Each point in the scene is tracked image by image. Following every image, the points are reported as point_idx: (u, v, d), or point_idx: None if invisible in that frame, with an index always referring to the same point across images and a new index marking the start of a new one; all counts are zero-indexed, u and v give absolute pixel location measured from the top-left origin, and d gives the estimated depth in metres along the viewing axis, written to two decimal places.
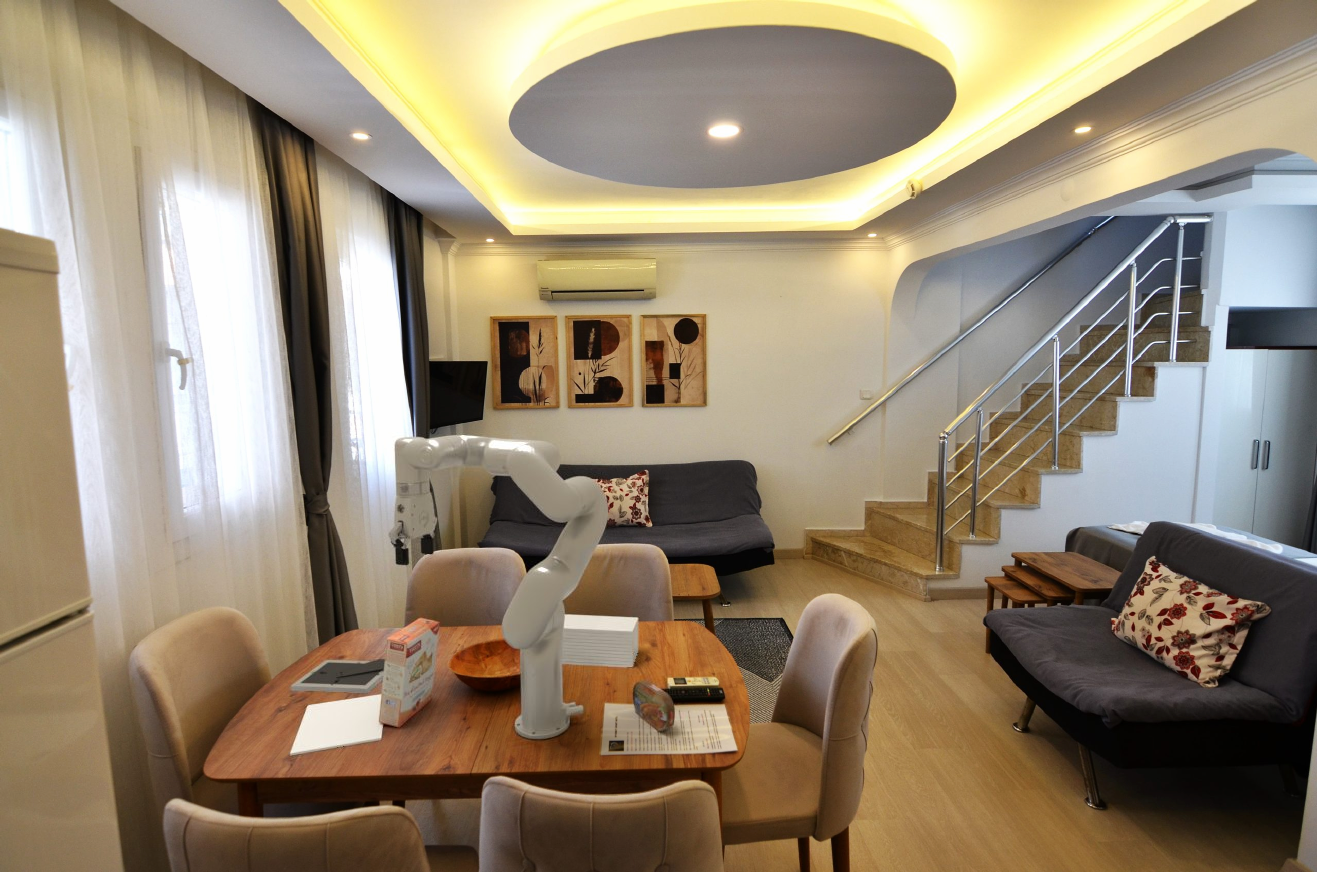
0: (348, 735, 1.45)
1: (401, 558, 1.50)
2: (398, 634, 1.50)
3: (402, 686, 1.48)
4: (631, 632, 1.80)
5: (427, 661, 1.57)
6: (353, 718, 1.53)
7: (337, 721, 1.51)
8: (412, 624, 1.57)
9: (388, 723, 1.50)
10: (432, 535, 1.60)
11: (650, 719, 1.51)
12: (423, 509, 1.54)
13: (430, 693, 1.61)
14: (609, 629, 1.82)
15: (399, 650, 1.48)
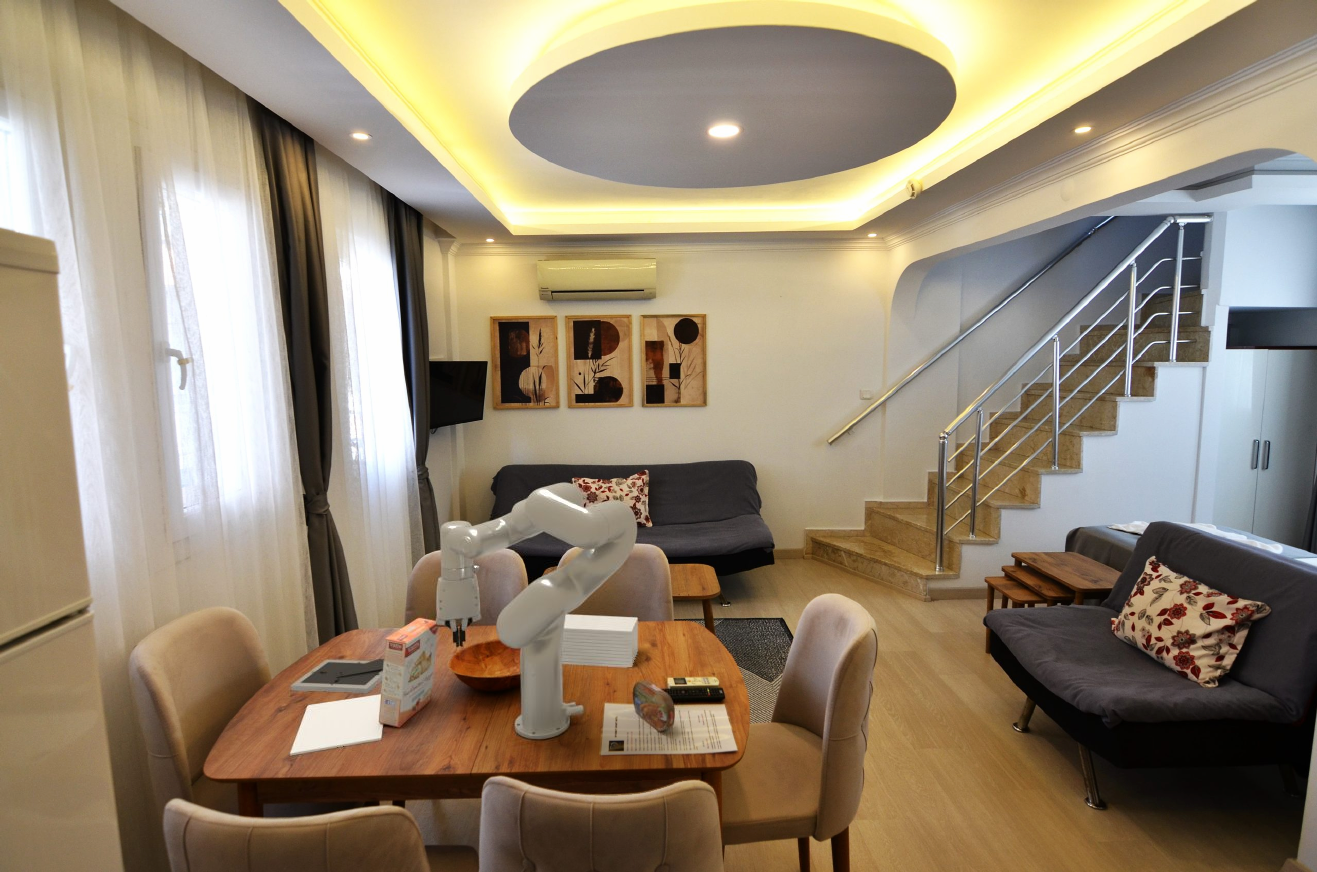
0: (348, 735, 1.45)
1: None
2: (397, 634, 1.51)
3: (401, 686, 1.48)
4: (630, 632, 1.80)
5: (426, 661, 1.57)
6: (353, 718, 1.53)
7: (337, 721, 1.51)
8: (411, 624, 1.57)
9: (388, 723, 1.50)
10: None
11: (650, 719, 1.51)
12: None
13: (430, 693, 1.61)
14: (608, 629, 1.82)
15: (398, 650, 1.48)
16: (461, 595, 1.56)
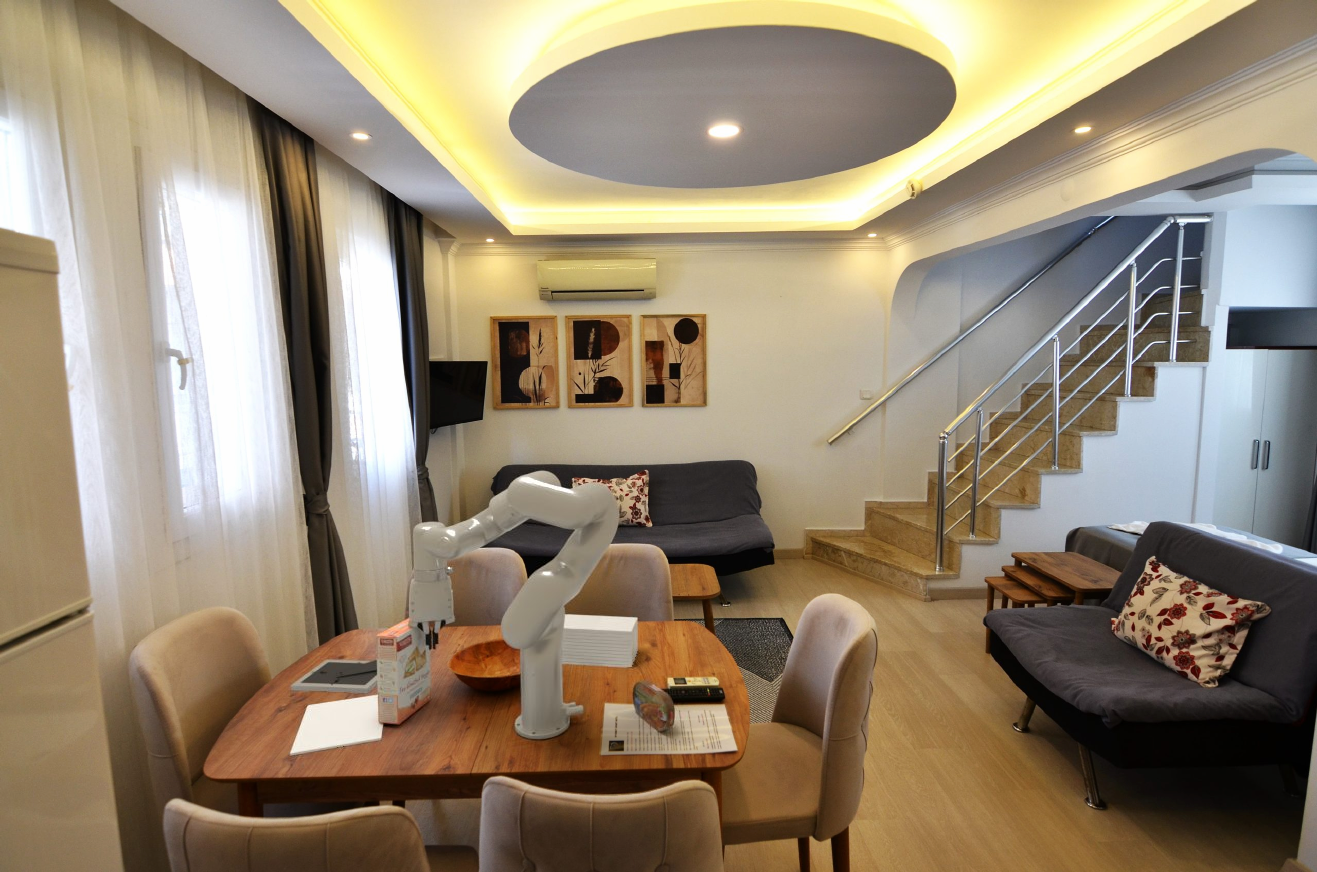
0: (348, 735, 1.45)
1: None
2: (387, 631, 1.52)
3: (397, 681, 1.49)
4: (630, 632, 1.80)
5: (421, 658, 1.58)
6: (353, 718, 1.53)
7: (337, 721, 1.51)
8: (401, 622, 1.58)
9: (388, 722, 1.50)
10: None
11: (650, 719, 1.51)
12: None
13: (429, 692, 1.62)
14: (608, 629, 1.82)
15: (389, 645, 1.49)
16: (434, 597, 1.54)
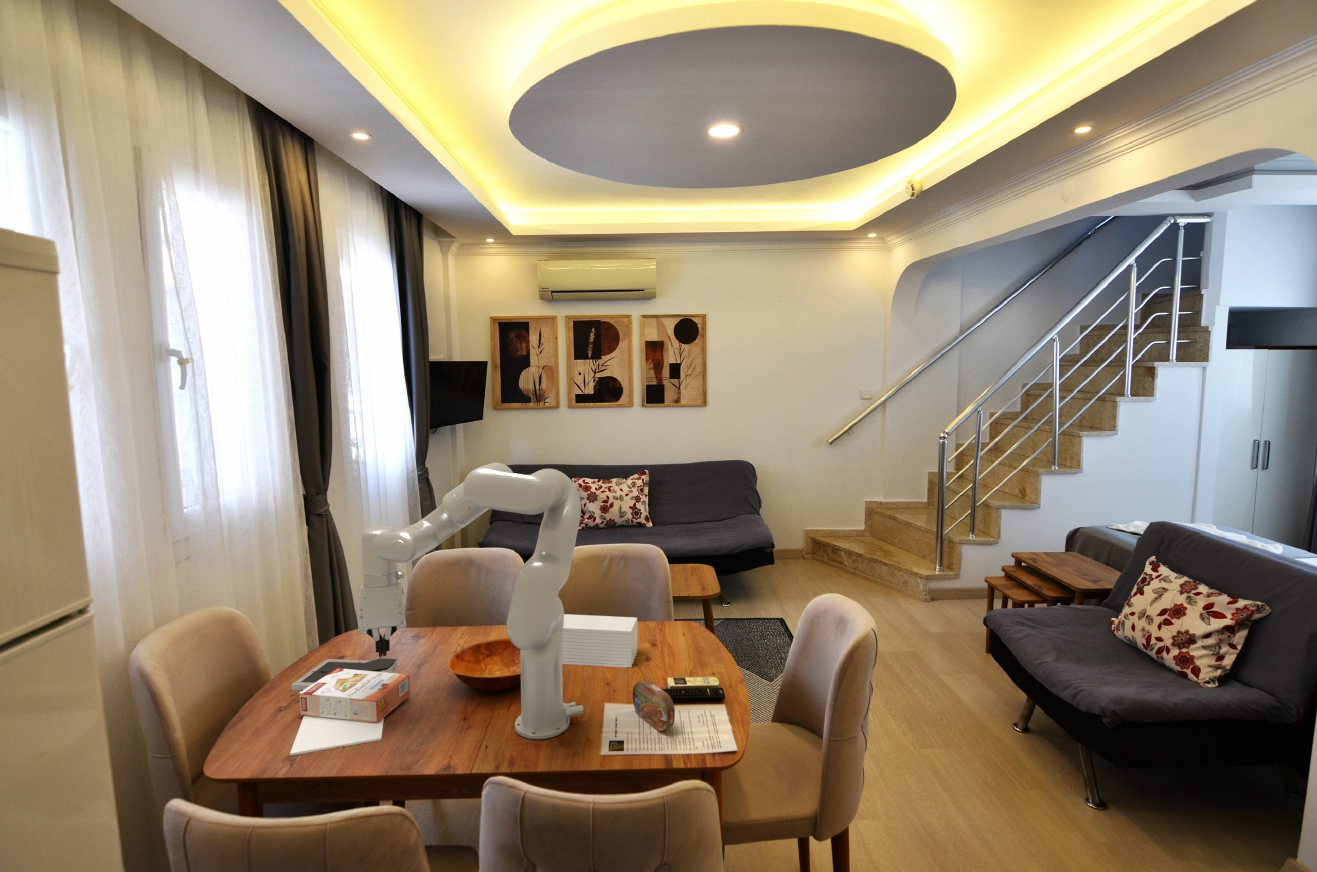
0: (348, 735, 1.45)
1: (389, 645, 1.54)
2: None
3: (337, 697, 1.52)
4: (630, 632, 1.80)
5: (354, 677, 1.61)
6: None
7: (337, 721, 1.51)
8: None
9: (375, 711, 1.50)
10: None
11: (650, 719, 1.51)
12: None
13: (399, 675, 1.63)
14: (608, 629, 1.82)
15: (306, 701, 1.53)
16: (383, 603, 1.50)
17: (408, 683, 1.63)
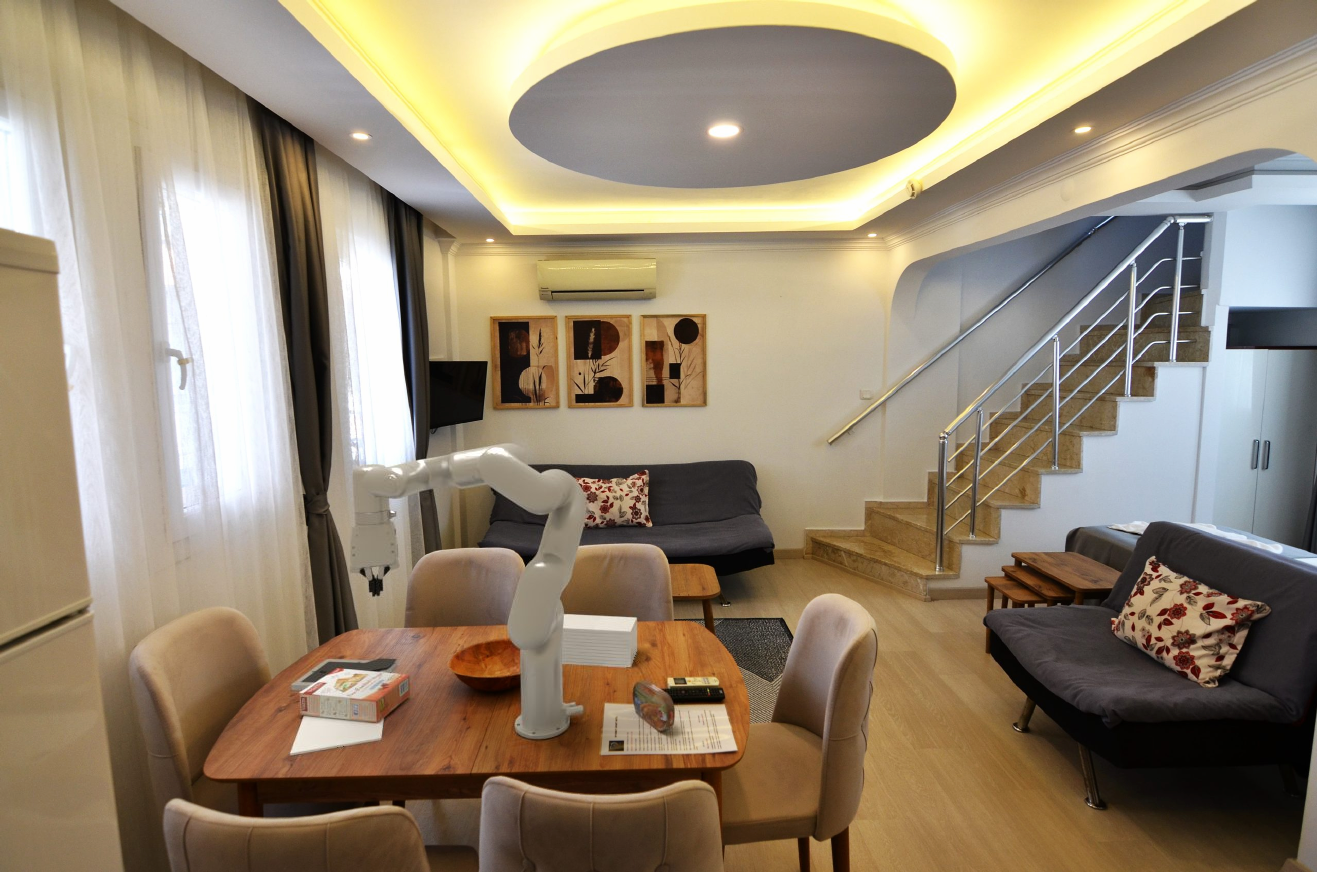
0: (348, 735, 1.45)
1: None
2: None
3: (338, 697, 1.52)
4: (629, 632, 1.80)
5: (354, 677, 1.61)
6: None
7: (337, 721, 1.51)
8: None
9: (375, 711, 1.50)
10: None
11: (650, 719, 1.51)
12: None
13: (400, 675, 1.63)
14: (607, 629, 1.82)
15: (306, 701, 1.53)
16: (376, 541, 1.49)
17: (408, 683, 1.63)
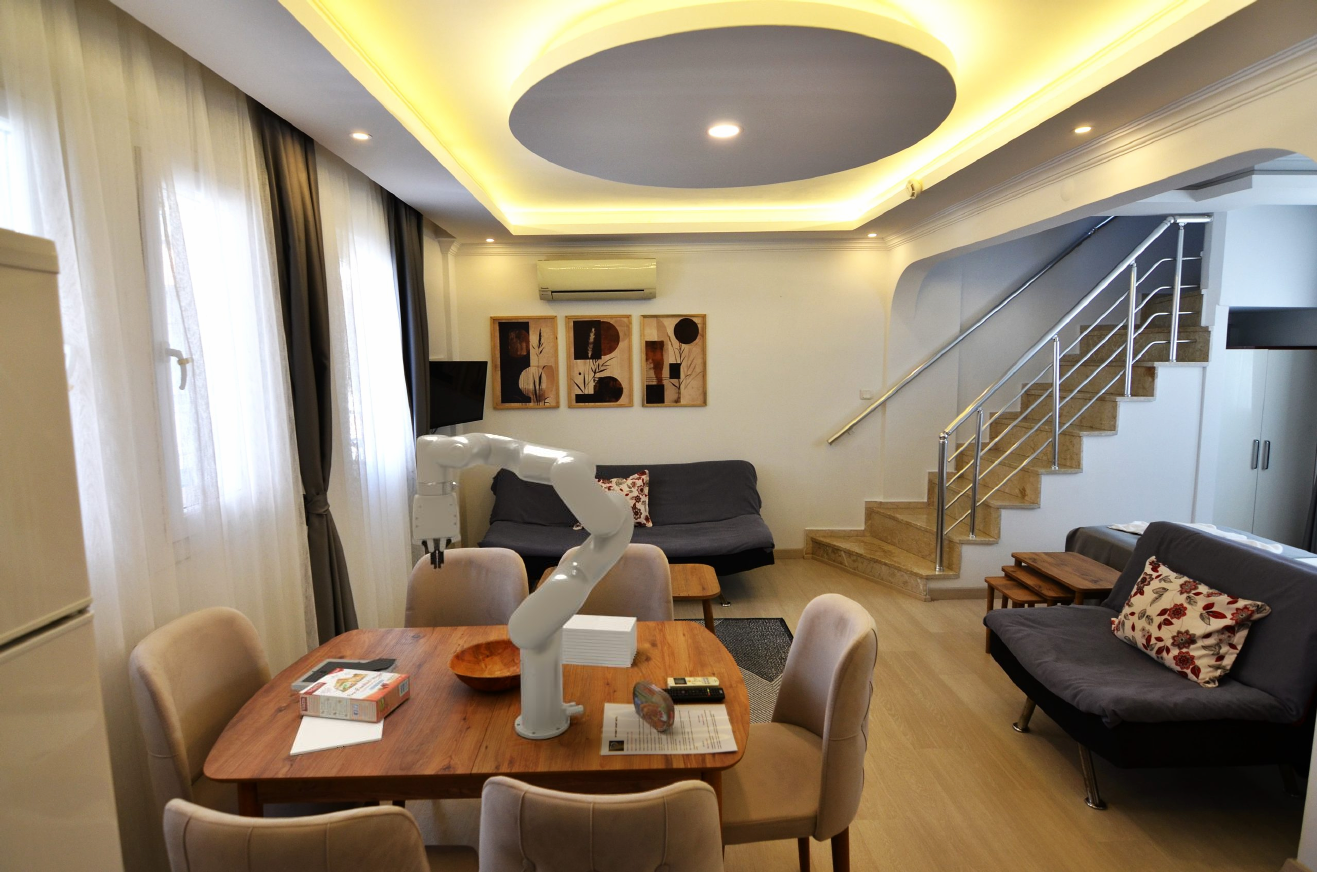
0: (348, 735, 1.45)
1: None
2: None
3: (338, 697, 1.52)
4: (629, 632, 1.80)
5: (354, 677, 1.61)
6: None
7: (337, 721, 1.51)
8: None
9: (375, 711, 1.50)
10: None
11: (650, 719, 1.51)
12: None
13: (400, 675, 1.63)
14: (607, 629, 1.82)
15: (306, 701, 1.53)
16: (439, 512, 1.46)
17: (408, 683, 1.63)
